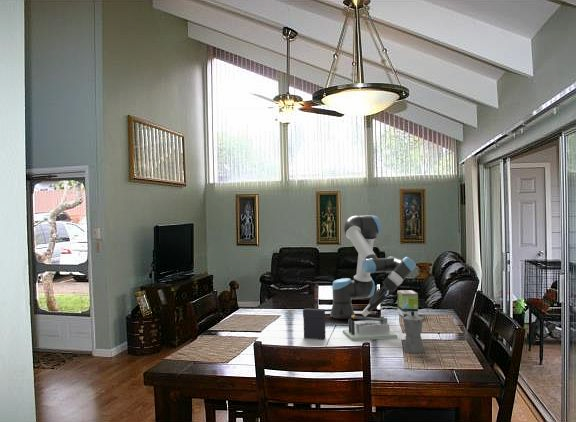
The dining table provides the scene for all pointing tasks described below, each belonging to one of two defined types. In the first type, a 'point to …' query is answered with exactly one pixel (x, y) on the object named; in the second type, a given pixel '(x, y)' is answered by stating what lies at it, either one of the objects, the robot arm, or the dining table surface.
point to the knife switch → (369, 327)
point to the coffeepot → (413, 333)
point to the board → (369, 336)
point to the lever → (367, 318)
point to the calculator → (314, 323)
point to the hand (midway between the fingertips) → (363, 315)
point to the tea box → (407, 302)
